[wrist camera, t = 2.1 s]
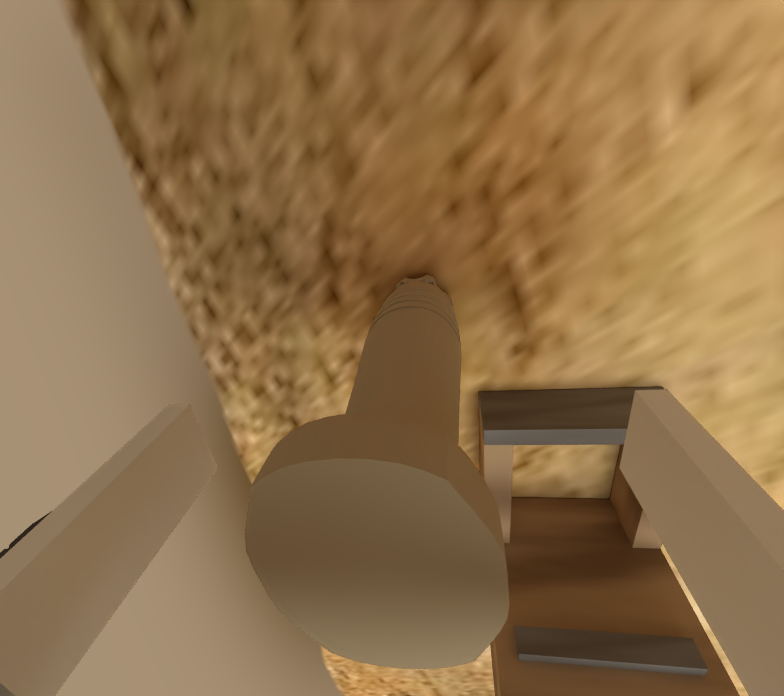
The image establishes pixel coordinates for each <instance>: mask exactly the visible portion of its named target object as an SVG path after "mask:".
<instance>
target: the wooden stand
mask: <svg viewBox="0 0 784 696" xmlns="http://www.w3.org/2000/svg"><path fill="white" fill-rule="evenodd" d="M660 389H664V388H663V387H633V388H597V389H562V390H526V391H490V392H479V451H480V474H481V475H482V477H483V478H484V480H485V482H486V484H487V485H488V487H489V489H490V490H491V492H492V494H493V496H494V498H495V499H496V501H497V505H498V510H499V514H500V520H501V526H502V533H503V540H504V547H505V556H506V565H507V574H508V589H509V611H508V618H507V620H506V622H505V624H504V626H503V627H502V629H501V631H500V632H499V634H498V635H497V636H496V637H495V638H494V640H493V641H492V642H491V643H490V646H491V657H492V667H493V678H494V689H495V696H740V695H739V694H738V692H737V690H736V688H735V686H734V684H733V683H732V681H731V679H730V677H729V675H728V673H727V671H726V670H725V668H724V666H723V664H722V662H721V660H720V658H719V657H718V655H717V653H716V651H715V649H714V647H713V645H712V644H711V642H710V640H709V638H708V636H707V634H706V632H705V631H704V629H703V627H702V625H701V623H700V621H699V619H698V618H697V616H696V614H695V612H694V610H693V608H692V606H691V605H690V603H689V601H688V599H687V597H686V595H685V593H684V592H683V590H682V588H681V586H680V584H679V582H678V580H677V579H676V577H675V575H674V573H673V571H672V569H671V567H670V566H669V564H668V562H667V560H666V558H665V556H664V555H663V553H662V551H661V549H660V548H661V545H662V542H661V540H660V538H659V536H658V535H657V533H656V531H655V529H654V528H653V526H652V524H651V522H650V521H649V519H648V517H647V515H646V514H645V512H644V510H643V508H642V507H641V505H640V503H639V501H638V500H637V498H636V496H635V494H634V493H633V491H632V489H631V487H630V486H629V484H628V482H627V480H626V479H625V477H624V475H623V473H622V472H621V470H620V468H619V467H620V462H621V457H622V452H623V447H624V443H625V438H626V433H627V428H628V423H629V418H630V413H631V408H632V403H633V398H634V393H635V390H660ZM591 444H621V447H620V452H619V456H618V461H617V466H616V471H615V475H614V480H613V485H612V490H611V495H610V499H573V498H513V497H511V496H512V470H513V445H591Z"/></svg>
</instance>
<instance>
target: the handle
mask: <svg viewBox="0 0 784 696" xmlns="http://www.w3.org/2000/svg"><path fill="white" fill-rule="evenodd" d="M460 375H461V345H460V336H459V330H458V325H457V320H456V315H455V312H454V309H453V304H452V301H451V298H450V296H449V294H447V293H445V292H443V291H442V290H441V289H440V288H439V287H438V285H437V284H436V282H435V278H434V277H432V276H430V275H424V276H423V277H421V278H417V279H409V278H407V277H406V278H404V279H402V280H401V281H400V282H399V283H398V284H397V285H396V290H395V291H394V292H392V293H391V294H390V295H389V297H388V298H387V299H386V300H385V302H384V303H383V305H382V306H381V308H380V310H379V311H378V313H377V315H376V316H375V319H374V321H373V323H372V326H371V328H370V330H369V333H368V335H367V338H366V341H365V345H364V348H363V352H362V356H361V360H360V363H359V367H358V371H357V375H356V378H355V382H354V386H353V389H352V393H351V396H350V400H349V403H348V407H347V410H346V413H345V414H344V415H337V416H330V417H325V418H322V419H318V420H315V421H312V422H308V423H306V424H304V425H302V426H300V427H299V428H297V429H295V430H293V431H292V432H290V433H289V434H288V435H287V436H285V437H284V438H283V439H282V440H280V441H279V442H278V443H277V444H276V446H275V447H274V448H273V450H272V451H271V453H270V455H269V456H268V458H267V460H266V461H265V463H264V465H263V466H262V468H261V470H260V472H259V473H258V475H257V477H256V479H255V480H254V482H253V484H252V486H251V489H250V496H249V503H248V510H247V518H246V529H245V541H246V551H247V554H248V556H249V559H250V562H251V564H252V567H253V568H254V570H255V572H256V574H257V575H258V577H259V579H260V581H261V583H262V585H263V587H264V588H265V590H266V592H267V594H268V595H269V597H270V599H271V600H272V601H273V603H274V604H275V606H276V607H277V608H278V610H279V611H280V612H281V613H282V614H284V615H285V617H287V618H288V619H289V620H290V621H291V622H292V623H293V624H294V625H296V626H297V627H298V628H299V629H301V630H302V631H303V632H304V633H306V634H307V635H308V636H310V637H311V638H312V639H314V640H315V641H316V642H317V643H319V644H320V645H321V646H323V647H324V648H325V649H327V650H328V651H329V652H331V653H333V654H336V655H339V656H342V657H344V658H348V659H351V660H355V661H358V662H362V663H367V664H372V665H378V666H384V667H394V668H404V669H435V668H447V667H452V666H458V665H462V664H466V663H469V662H473V661H475V660H476V659H477V658H478V657H479V656H480V655H481V654H482V652H483V651H484V650H485V649H486V648H487V647H488V646H489V645H490V643H491V642H492V641H493V640H494V638H495V637H496V636H497V635H498V634H499V632H500V631H501V629H502V627H503V626H504V624H505V622H506V620H507V618H508V611H509V589H508V574H507V565H506V556H505V547H504V540H503V533H502V526H501V520H500V514H499V510H498V505H497V501H496V499H495V498H494V496H493V494H492V492H491V490H490V489H489V487H488V485H487V484H486V482H485V480H484V478H483V477H482V475H481V474H480V472H479V470H478V469H477V468H476V466H475V465H474V464H473V462H472V461H471V459H470V458H469V457H468V456H467V454H466V453H465V452H464V451H463V450H462V449H461V448H460V446H459V445H458V439H459V400H460Z"/></svg>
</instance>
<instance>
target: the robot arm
mask: <svg viewBox="0 0 784 696" xmlns="http://www.w3.org/2000/svg"><path fill="white" fill-rule="evenodd" d="M619 468H620V470H621V472H622V473H623V475H624V477H625V479H626V480H627V482H628V484H629V486H630V487H631V489H632V491H633V493H634V494H635V496H636V498H637V500H638V501H639V503H640V505H641V507H642V508H643V510H644V512H645V514H646V515H647V517H648V519H649V521H650V522H651V524H652V526H653V528H654V529H655V531H656V533H657V535H658V536H659V538H660V540H661V542H662V543H663V545H664V547H665V549H666V551H667V552H668V554H669V556H670V558H671V559H672V561H673V563H674V565H675V566H676V568H677V570H678V572H679V573H680V575H681V577H682V579H683V580H684V582H685V584H686V586H687V587H688V589H689V591H690V593H691V594H692V596H693V598H694V600H695V601H696V603H697V605H698V607H699V608H700V610H701V612H702V614H703V615H704V617H705V619H706V621H707V622H708V624H709V626H710V628H711V630H712V631H713V633H714V635H715V637H716V638H717V640H718V642H719V644H720V645H721V647H722V649H723V651H724V652H725V654H726V656H727V658H728V659H729V661H730V663H731V665H732V666H733V668H734V670H735V672H736V673H737V675H738V677H739V679H740V680H741V682H742V684H743V686H744V687H745V689H746V691H747V693H748V694H749V696H784V510H783V509H782V508H781V507H780V506H779V505H778V504H777V503H776V502H775V501H774V500H773V499H772V498H771V497H770V496H769V495H768V494H767V493H766V492H765V491H764V490H763V489H762V488H761V486H760V485H759V484H758V483H757V482H756V481H755V480H754V479H753V478H752V477H751V476H750V475H749V474H748V473H747V472H746V471H745V470H744V469H743V468H742V467H741V466H740V465H739V464H738V463H737V462H736V461H735V459H734V458H733V457H732V456H731V455H730V454H729V453H728V452H727V451H726V450H725V449H724V448H723V447H722V446H721V445H720V444H719V443H718V442H717V441H716V440H715V439H714V438H713V437H712V436H711V435H710V434H709V433H708V431H707V430H706V429H705V428H704V427H703V426H702V425H701V424H700V423H699V422H698V421H697V420H696V419H695V418H694V417H693V416H692V415H691V414H690V413H689V412H688V411H687V410H686V409H685V408H684V407H683V406H682V404H681V403H680V402H679V401H678V400H677V399H676V398H675V397H674V396H673V395H672V394H671V393H670V392H669V391H668V390H667V389H660V390H635V393H634V398H633V403H632V408H631V413H630V418H629V423H628V428H627V433H626V438H625V443H624V447H623V452H622V457H621V462H620V467H619ZM216 470H217V465H216V463H215V461H214V458H213V456H212V454H211V451H210V449H209V447H208V444H207V442H206V440H205V437H204V435H203V433H202V431H201V428H200V426H199V423H198V421H197V419H196V417H195V414H194V412H193V410H192V407H191V405H190V404H174V405H173V404H171V405H168V406H167V407H166V408H165V409H164V410H162V411H161V412H160V413H159V414H158V415H157V416H156V417H155V418H154V419H152V420H151V421H150V422H149V423H148V424H147V425H146V426H145V427H144V428H143V429H142V430H141V431H139V432H138V433H137V434H136V435H135V436H134V437H133V438H132V439H131V440H130V441H128V442H127V443H126V444H125V445H124V446H123V447H122V448H121V449H120V450H119V451H118V452H116V453H115V454H114V455H113V456H112V457H111V458H110V459H109V460H108V461H107V462H105V463H104V464H103V465H102V466H101V467H100V468H99V469H98V470H97V471H96V472H95V473H93V474H92V475H91V476H90V477H89V478H88V479H87V480H86V481H85V482H84V483H82V484H81V485H80V486H79V487H78V488H77V489H76V490H75V491H74V492H73V493H72V494H71V495H69V496H68V497H67V498H66V499H65V500H64V501H63V502H62V503H61V504H60V505H58V506H57V507H56V508H55V509H54V510H53V511H51V512H50V513H48V514H47V515H45V516H44V517H42V518H41V519H39V520H38V521H36V522H35V523H33V524H32V525H31V526H30V527H29V528H27V529H26V530H25V531H24V532H23V533H22V534H21V535H20V536H18V537H17V538H16V539H15V540H14V541H13V542H12V543H11V544H10V545H9V548H8V549H4V550H3V551H2V552H1V553H0V696H55V695H56V694H57V692H58V691H59V690H60V688H61V687H62V685H63V683H65V681H66V680H67V678H68V677H69V676H70V674H71V673H72V671H73V670H74V669H75V667H76V666H77V664H78V663H79V662H80V660H81V659H82V657H83V656H84V655H85V653H86V652H87V650H88V649H89V648H90V646H91V645H92V643H93V642H94V640H95V639H96V638H97V636H98V635H99V634H100V632H101V631H102V629H103V628H104V627H105V625H106V624H107V622H108V621H109V620H110V618H111V617H112V615H113V614H114V613H115V611H116V610H117V608H118V607H119V605H120V604H121V603H122V601H123V600H124V599H125V597H126V596H127V594H128V593H129V592H130V590H131V589H132V587H133V586H134V585H135V583H136V582H137V580H138V579H139V578H140V576H141V575H142V573H143V572H144V571H145V569H146V568H147V566H148V565H149V564H150V562H151V561H152V559H153V558H154V557H155V555H156V554H157V552H158V551H159V550H160V548H161V547H162V545H163V544H164V543H165V541H166V540H167V538H168V537H169V536H170V534H171V533H172V532H173V530H174V529H175V527H176V526H177V524H178V523H179V522H180V520H181V519H182V517H183V516H184V515H185V513H186V512H187V510H188V509H189V508H190V506H191V505H192V503H193V502H194V501H195V499H196V498H197V497H198V495H199V494H200V492H201V491H202V489H203V488H204V487H205V485H206V484H207V483H208V481H209V480H210V478H211V477H212V476H213V474H214V473H215V471H216Z"/></svg>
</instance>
